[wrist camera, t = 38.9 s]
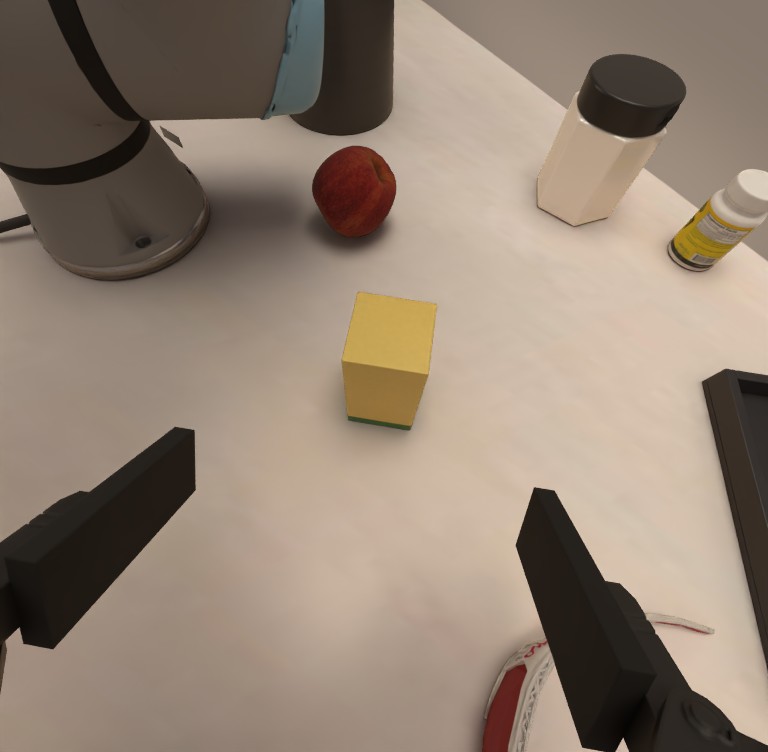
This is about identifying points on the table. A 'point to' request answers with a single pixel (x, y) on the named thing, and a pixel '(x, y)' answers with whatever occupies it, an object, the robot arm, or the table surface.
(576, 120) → the jar
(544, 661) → the sunglasses
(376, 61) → the vase
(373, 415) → the sponge
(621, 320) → the table surface
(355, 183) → the apple
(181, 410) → the table surface
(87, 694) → the table surface
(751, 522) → the pan
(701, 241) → the supplement bottle
